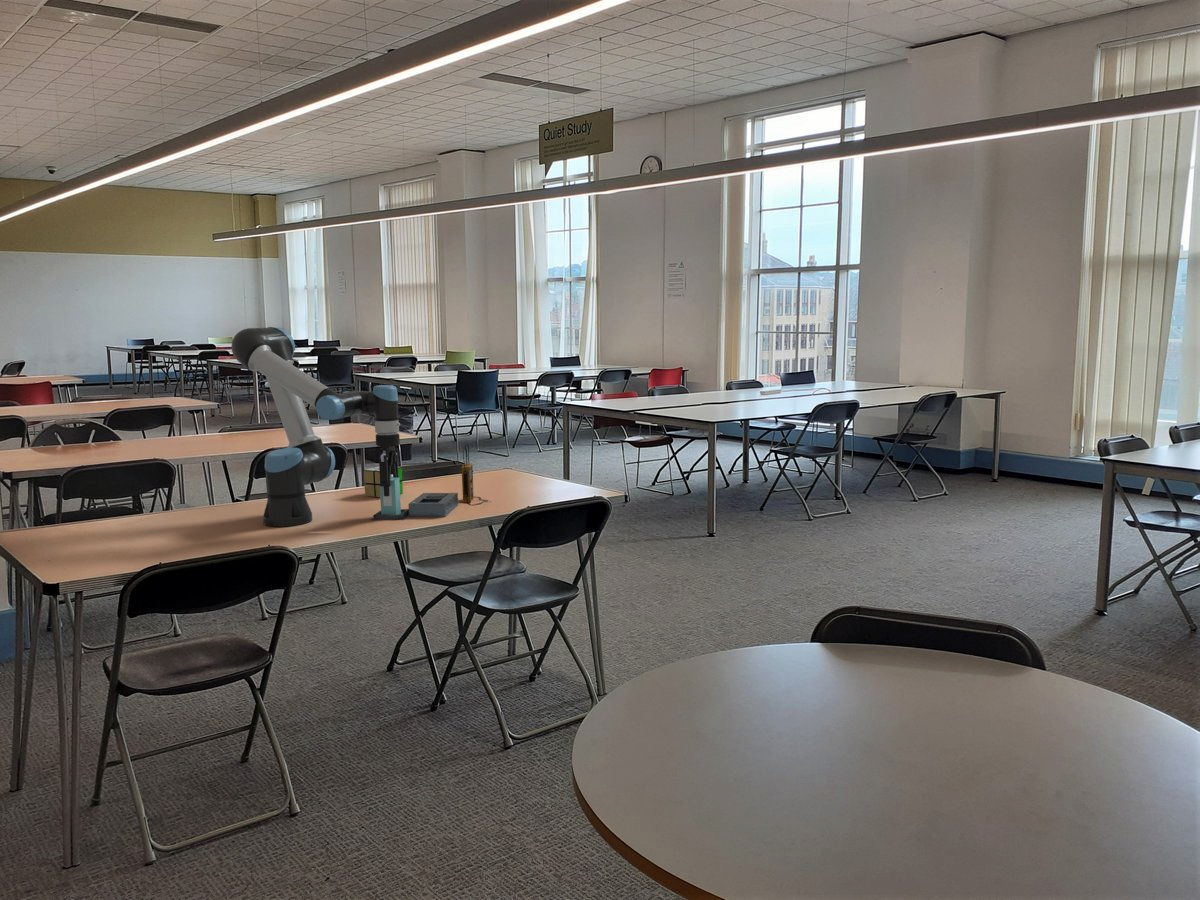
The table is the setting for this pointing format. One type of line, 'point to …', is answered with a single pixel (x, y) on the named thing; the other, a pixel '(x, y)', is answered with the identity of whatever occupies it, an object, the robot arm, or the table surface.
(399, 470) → the puzzle cube
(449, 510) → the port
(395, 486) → the light blue juice carton
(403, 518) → the dark grey rectangular tray
